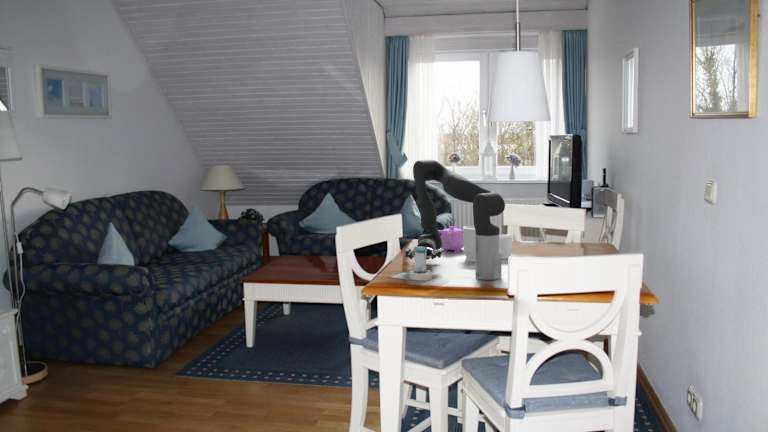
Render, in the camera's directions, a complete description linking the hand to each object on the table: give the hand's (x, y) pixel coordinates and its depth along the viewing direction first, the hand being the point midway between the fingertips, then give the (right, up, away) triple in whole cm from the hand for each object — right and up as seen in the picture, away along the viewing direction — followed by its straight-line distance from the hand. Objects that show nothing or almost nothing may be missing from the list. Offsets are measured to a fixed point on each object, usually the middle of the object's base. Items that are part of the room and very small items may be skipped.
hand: (421, 256), depth 270 cm
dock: (-3, -9, -1) cm, 10 cm away
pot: (+18, -1, +60) cm, 62 cm away
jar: (+25, -4, +34) cm, 43 cm away
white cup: (+39, -3, +39) cm, 55 cm away
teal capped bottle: (-1, -8, -4) cm, 9 cm away
